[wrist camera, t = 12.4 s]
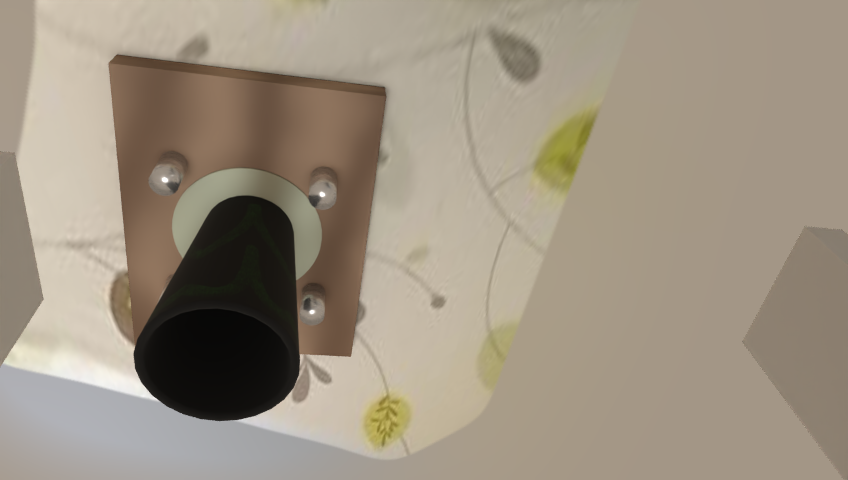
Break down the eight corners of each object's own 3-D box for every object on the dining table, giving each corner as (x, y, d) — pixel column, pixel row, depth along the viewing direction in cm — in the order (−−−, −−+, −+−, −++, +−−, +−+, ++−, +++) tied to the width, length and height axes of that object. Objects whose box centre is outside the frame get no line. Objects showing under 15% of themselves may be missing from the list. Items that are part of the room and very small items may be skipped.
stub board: (384, 87, 39) (388, 112, 35) (350, 343, 49) (351, 381, 46) (117, 54, 36) (93, 78, 33) (140, 331, 47) (124, 370, 43)
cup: (329, 260, 43) (324, 394, 33) (224, 297, 44) (187, 439, 34) (277, 162, 39) (253, 281, 29) (161, 204, 40) (99, 335, 29)
